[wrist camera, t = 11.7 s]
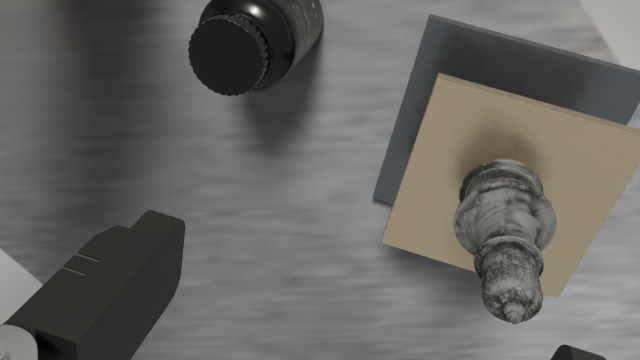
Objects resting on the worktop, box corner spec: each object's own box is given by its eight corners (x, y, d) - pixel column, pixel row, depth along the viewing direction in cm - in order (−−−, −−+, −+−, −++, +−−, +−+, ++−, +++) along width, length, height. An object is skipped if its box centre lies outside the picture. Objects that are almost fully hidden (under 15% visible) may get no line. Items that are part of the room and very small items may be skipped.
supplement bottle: (260, -49, 41) (191, -23, 30) (339, -4, 41) (297, 37, 31) (229, 31, 44) (158, 78, 34) (302, 72, 44) (254, 131, 34)
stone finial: (480, 140, 34) (487, 254, 24) (567, 177, 34) (611, 307, 24) (439, 211, 37) (430, 338, 27) (518, 245, 37) (539, 385, 27)
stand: (374, 191, 48) (356, 252, 40) (429, 14, 40) (421, 47, 32) (552, 245, 47) (569, 319, 39) (648, 73, 38) (694, 123, 31)
